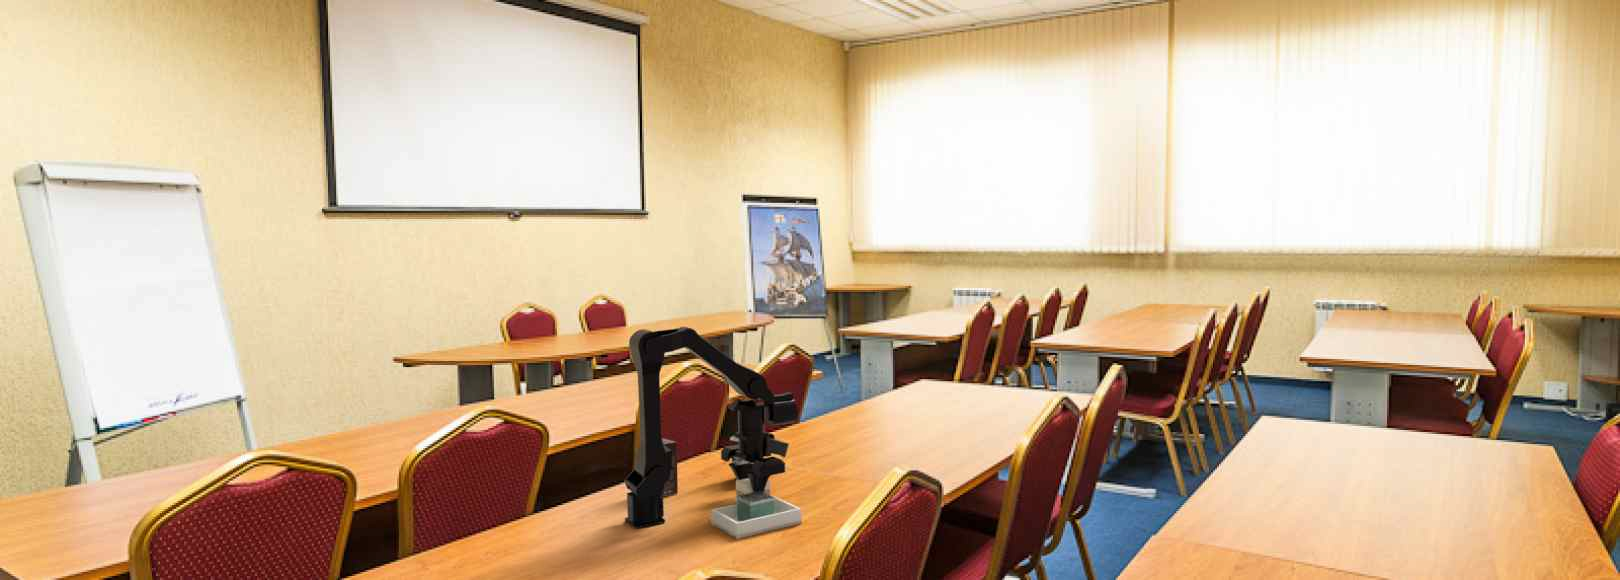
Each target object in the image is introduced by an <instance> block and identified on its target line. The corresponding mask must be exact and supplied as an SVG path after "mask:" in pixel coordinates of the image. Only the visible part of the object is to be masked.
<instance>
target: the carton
mask: <svg viewBox="0 0 1620 580" xmlns="http://www.w3.org/2000/svg"><path fill="white" fill-rule="evenodd" d="M748 493H753V489H752V486H751V483H750V480H749V478H747V479H742V480H737V479H736V480H735V497H736V496H738V495H743V494H748ZM764 493H766V494H768V495H770V496H771V481H770V479H768V481H767V483H766V486H765V490H764ZM735 499H736V498H735ZM735 501H736V503H735V504H737V499H736V500H735Z"/></svg>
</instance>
